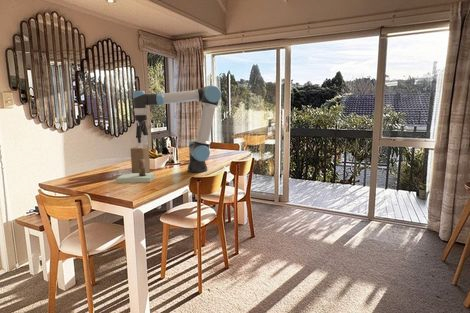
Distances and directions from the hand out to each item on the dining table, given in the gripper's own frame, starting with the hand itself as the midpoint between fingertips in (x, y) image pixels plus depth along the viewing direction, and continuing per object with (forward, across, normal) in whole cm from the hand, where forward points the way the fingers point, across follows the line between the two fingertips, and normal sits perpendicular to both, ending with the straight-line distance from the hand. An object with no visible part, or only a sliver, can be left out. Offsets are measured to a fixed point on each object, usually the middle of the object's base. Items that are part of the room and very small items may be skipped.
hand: (143, 146), depth 203 cm
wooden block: (+23, -16, -7) cm, 29 cm away
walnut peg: (+23, +2, -2) cm, 23 cm away
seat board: (+23, +2, -6) cm, 24 cm away
